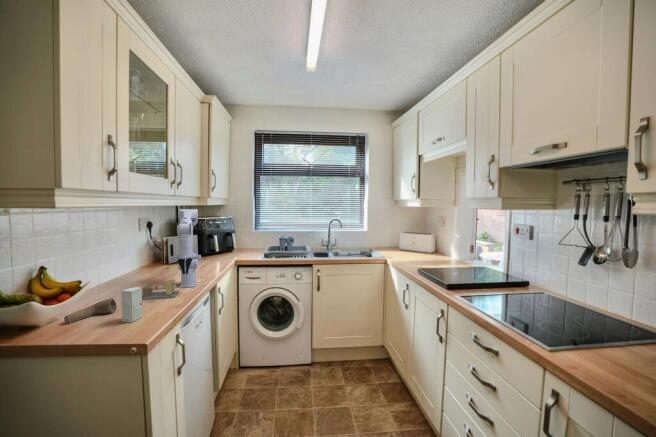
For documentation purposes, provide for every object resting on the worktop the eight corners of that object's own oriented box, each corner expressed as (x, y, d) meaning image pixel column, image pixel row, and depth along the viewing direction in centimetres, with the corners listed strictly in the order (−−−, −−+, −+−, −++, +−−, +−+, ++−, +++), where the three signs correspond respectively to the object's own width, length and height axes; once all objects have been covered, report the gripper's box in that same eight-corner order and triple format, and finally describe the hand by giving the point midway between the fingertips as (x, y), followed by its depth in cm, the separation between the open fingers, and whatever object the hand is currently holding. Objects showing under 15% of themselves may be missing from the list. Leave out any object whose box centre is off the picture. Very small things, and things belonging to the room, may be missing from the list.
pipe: (58, 312, 108) (80, 309, 107) (100, 298, 125) (119, 295, 123) (61, 328, 108) (83, 326, 107) (102, 312, 125) (122, 310, 123)
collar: (166, 294, 141) (165, 282, 141) (169, 291, 147) (169, 279, 147) (171, 294, 142) (171, 282, 142) (174, 290, 148) (174, 279, 148)
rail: (139, 300, 137) (139, 289, 137) (147, 294, 146) (146, 283, 146) (174, 297, 141) (174, 287, 140) (179, 291, 150) (179, 281, 150)
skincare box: (132, 322, 110) (131, 291, 110) (120, 322, 110) (120, 291, 110) (143, 316, 116) (142, 286, 116) (132, 316, 116) (131, 286, 116)
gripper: (166, 248, 140) (167, 276, 140) (199, 247, 144) (199, 274, 144) (170, 246, 147) (171, 273, 147) (201, 245, 150) (201, 271, 151)
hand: (185, 273), depth 146 cm, fingers closed
